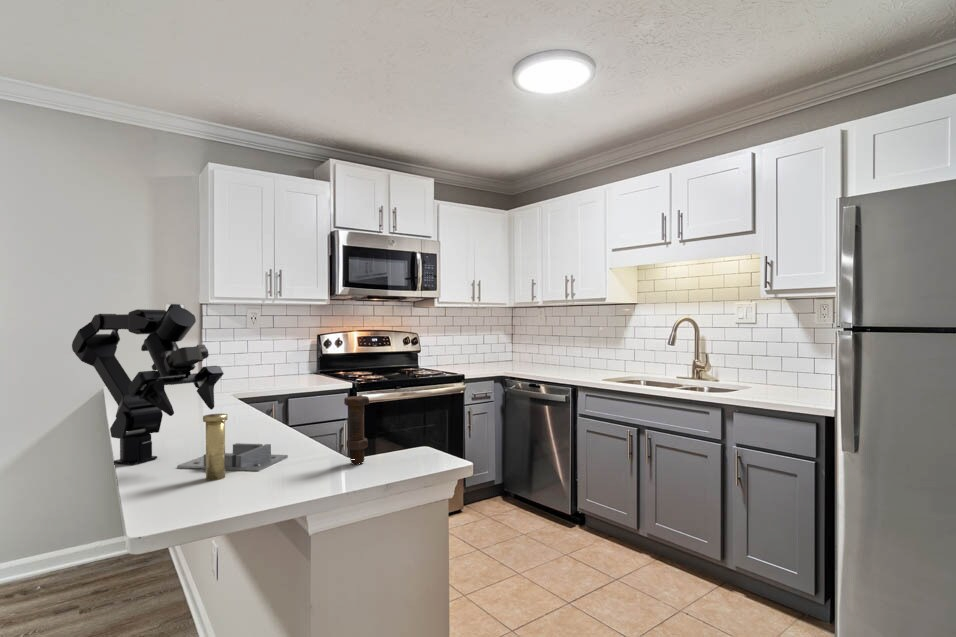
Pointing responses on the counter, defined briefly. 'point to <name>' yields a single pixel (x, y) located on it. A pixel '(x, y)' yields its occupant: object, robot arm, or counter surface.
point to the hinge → (242, 458)
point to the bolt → (356, 427)
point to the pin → (215, 446)
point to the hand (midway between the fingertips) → (193, 411)
